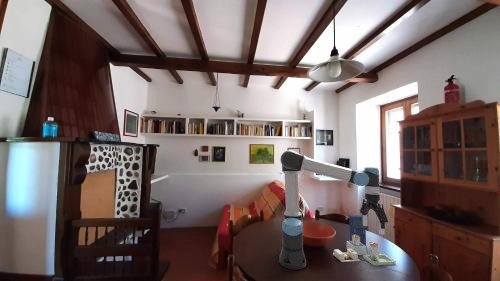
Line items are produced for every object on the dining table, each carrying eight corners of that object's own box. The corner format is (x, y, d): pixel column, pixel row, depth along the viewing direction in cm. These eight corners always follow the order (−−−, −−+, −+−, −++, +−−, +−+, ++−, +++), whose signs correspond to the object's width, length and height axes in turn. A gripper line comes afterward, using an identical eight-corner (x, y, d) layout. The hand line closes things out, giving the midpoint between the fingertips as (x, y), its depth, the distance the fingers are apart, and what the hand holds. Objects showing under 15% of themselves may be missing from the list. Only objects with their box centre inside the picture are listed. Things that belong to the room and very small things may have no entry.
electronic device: (352, 247, 139) (352, 216, 141) (349, 243, 144) (348, 214, 146) (366, 247, 139) (366, 217, 140) (362, 244, 144) (362, 215, 145)
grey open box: (354, 256, 126) (354, 246, 127) (346, 250, 134) (346, 241, 135) (366, 255, 127) (366, 246, 127) (358, 249, 135) (358, 240, 136)
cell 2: (373, 263, 117) (373, 244, 117) (368, 259, 121) (367, 241, 122) (380, 262, 117) (379, 243, 118) (375, 259, 122) (374, 240, 122)
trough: (373, 266, 114) (373, 262, 115) (363, 258, 123) (363, 255, 123) (395, 265, 116) (395, 261, 116) (384, 257, 125) (383, 254, 125)
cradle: (341, 262, 118) (341, 254, 118) (332, 254, 128) (332, 247, 128) (360, 262, 119) (359, 253, 120) (349, 254, 129) (349, 246, 129)
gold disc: (344, 259, 121) (344, 256, 122) (341, 256, 125) (341, 253, 125) (350, 259, 122) (350, 256, 122) (346, 256, 125) (346, 253, 126)
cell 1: (355, 253, 128) (354, 236, 129) (351, 250, 133) (350, 233, 133) (361, 253, 129) (361, 236, 130) (357, 250, 133) (357, 233, 134)
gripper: (395, 197, 110) (396, 238, 109) (363, 189, 135) (364, 222, 133) (382, 197, 109) (383, 238, 108) (353, 189, 134) (354, 223, 132)
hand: (373, 229), depth 121 cm, fingers open, 13 cm apart
